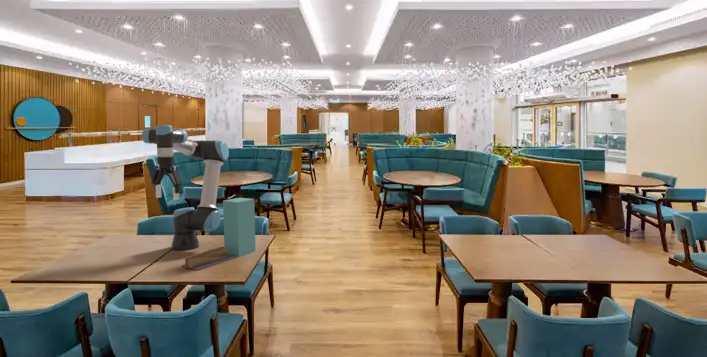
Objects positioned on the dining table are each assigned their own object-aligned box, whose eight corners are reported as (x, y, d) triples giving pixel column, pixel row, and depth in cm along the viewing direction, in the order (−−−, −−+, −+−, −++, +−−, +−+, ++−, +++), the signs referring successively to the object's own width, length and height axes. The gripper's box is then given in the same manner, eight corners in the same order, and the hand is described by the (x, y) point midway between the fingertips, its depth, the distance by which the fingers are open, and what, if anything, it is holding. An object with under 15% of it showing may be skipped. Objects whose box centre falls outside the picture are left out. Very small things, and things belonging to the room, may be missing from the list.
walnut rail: (185, 267, 220) (185, 257, 220) (222, 255, 241) (222, 246, 240) (190, 268, 218) (190, 258, 218) (227, 256, 239) (227, 247, 238)
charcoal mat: (181, 266, 223) (181, 265, 223) (221, 254, 245) (221, 253, 245) (197, 270, 217) (197, 269, 217) (236, 257, 239) (236, 256, 239)
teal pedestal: (224, 253, 247) (222, 200, 244) (241, 248, 258) (240, 197, 255) (238, 256, 241) (237, 202, 238) (255, 251, 252) (254, 199, 249)
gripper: (142, 155, 221) (145, 197, 224) (175, 157, 209) (177, 201, 211) (156, 155, 228) (158, 195, 230) (188, 156, 215) (190, 199, 218)
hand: (167, 198), depth 221 cm, fingers open, 13 cm apart
